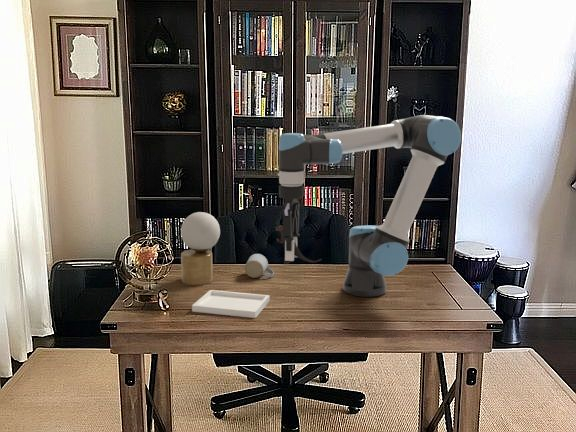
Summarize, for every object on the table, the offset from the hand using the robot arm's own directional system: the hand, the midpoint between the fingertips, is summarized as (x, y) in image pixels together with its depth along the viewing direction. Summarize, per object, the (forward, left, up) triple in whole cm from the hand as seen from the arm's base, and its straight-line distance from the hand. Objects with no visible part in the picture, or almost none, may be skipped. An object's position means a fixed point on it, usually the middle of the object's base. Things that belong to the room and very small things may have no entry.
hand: (291, 258), depth 199 cm
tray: (+20, 0, -18) cm, 26 cm away
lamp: (+40, -24, -18) cm, 50 cm away
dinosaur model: (-2, 0, -1) cm, 3 cm away
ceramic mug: (+21, -34, -18) cm, 44 cm away
